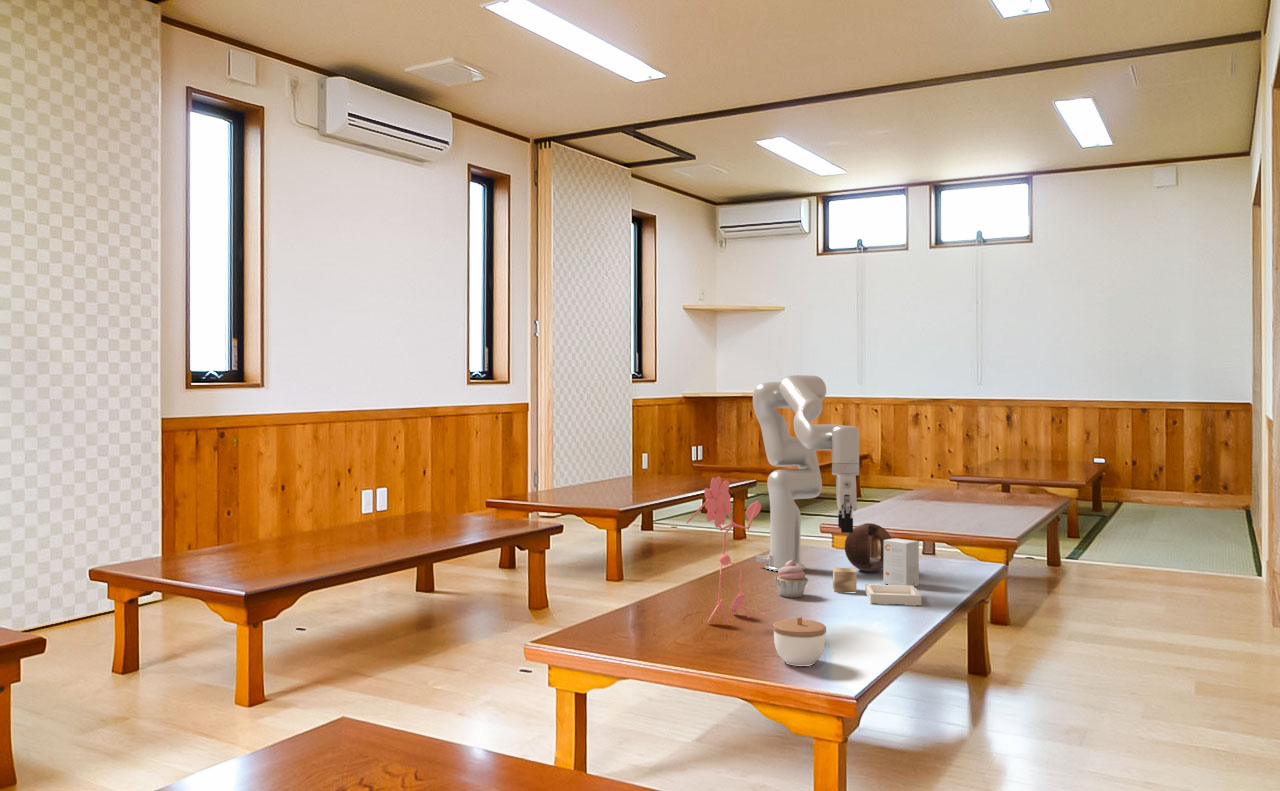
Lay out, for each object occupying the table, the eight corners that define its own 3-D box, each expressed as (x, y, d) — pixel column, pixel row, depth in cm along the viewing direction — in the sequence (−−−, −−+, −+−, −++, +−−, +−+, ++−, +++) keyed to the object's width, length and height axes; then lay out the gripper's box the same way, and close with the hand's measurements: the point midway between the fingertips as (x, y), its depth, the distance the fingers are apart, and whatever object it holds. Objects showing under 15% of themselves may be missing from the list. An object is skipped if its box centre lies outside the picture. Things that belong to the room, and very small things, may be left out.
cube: (834, 593, 257) (834, 571, 257) (832, 588, 263) (833, 567, 263) (856, 593, 256) (856, 572, 256) (854, 589, 262) (854, 568, 262)
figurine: (770, 613, 232) (768, 474, 233) (712, 633, 212) (710, 481, 212) (719, 605, 242) (717, 472, 242) (659, 624, 222) (657, 479, 222)
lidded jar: (767, 667, 186) (768, 620, 186) (779, 653, 196) (779, 609, 196) (820, 673, 183) (821, 625, 183) (829, 658, 193) (830, 613, 193)
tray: (870, 603, 244) (870, 593, 244) (865, 593, 257) (865, 584, 257) (921, 605, 242) (921, 595, 242) (913, 595, 255) (913, 585, 255)
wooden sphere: (847, 565, 299) (847, 519, 299) (895, 568, 294) (895, 521, 294) (841, 573, 285) (841, 525, 285) (891, 577, 280) (892, 528, 280)
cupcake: (793, 601, 246) (793, 563, 246) (767, 595, 254) (767, 558, 254) (815, 596, 252) (816, 560, 252) (789, 590, 260) (790, 555, 260)
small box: (919, 586, 267) (919, 541, 267) (906, 588, 263) (906, 543, 263) (895, 581, 274) (895, 537, 274) (882, 584, 269) (882, 539, 269)
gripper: (862, 471, 251) (862, 534, 250) (856, 467, 268) (856, 526, 268) (834, 471, 252) (834, 534, 251) (829, 467, 269) (829, 526, 269)
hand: (845, 530), depth 260 cm, fingers open, 9 cm apart
